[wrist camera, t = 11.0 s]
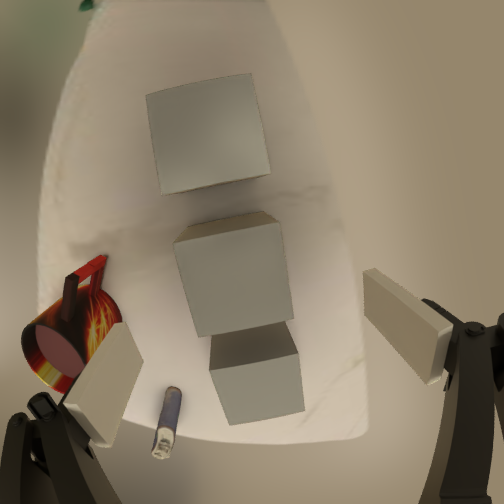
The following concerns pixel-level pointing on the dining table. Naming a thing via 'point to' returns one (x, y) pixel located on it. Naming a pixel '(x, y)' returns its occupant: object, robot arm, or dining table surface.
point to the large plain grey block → (257, 373)
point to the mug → (70, 328)
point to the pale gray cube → (234, 273)
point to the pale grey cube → (207, 134)
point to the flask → (167, 424)
